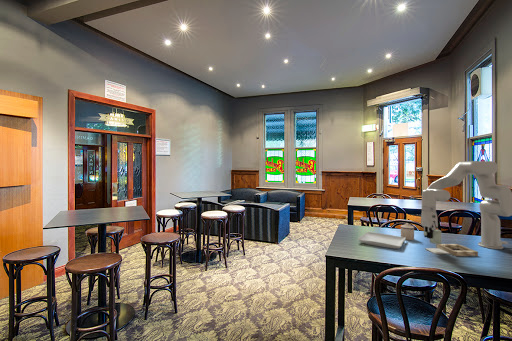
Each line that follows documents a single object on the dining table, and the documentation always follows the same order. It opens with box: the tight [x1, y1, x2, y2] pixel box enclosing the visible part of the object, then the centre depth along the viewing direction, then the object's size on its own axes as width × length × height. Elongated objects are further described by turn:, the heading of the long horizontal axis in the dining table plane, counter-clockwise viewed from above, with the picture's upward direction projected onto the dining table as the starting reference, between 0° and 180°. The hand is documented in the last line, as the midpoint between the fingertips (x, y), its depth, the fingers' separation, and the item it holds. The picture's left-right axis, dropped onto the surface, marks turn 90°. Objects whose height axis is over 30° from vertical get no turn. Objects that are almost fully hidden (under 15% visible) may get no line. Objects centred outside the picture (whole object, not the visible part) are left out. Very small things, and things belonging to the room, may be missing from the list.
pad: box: [425, 247, 450, 255], centre depth 162 cm, size 9×9×1 cm
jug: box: [423, 228, 442, 245], centre depth 162 cm, size 10×6×8 cm, turn 88°
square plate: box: [357, 231, 406, 249], centre depth 182 cm, size 27×27×4 cm
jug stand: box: [435, 243, 479, 257], centre depth 162 cm, size 14×16×2 cm
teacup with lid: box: [400, 222, 415, 241], centre depth 193 cm, size 12×9×12 cm
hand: (428, 237), depth 162 cm, fingers closed on jug
